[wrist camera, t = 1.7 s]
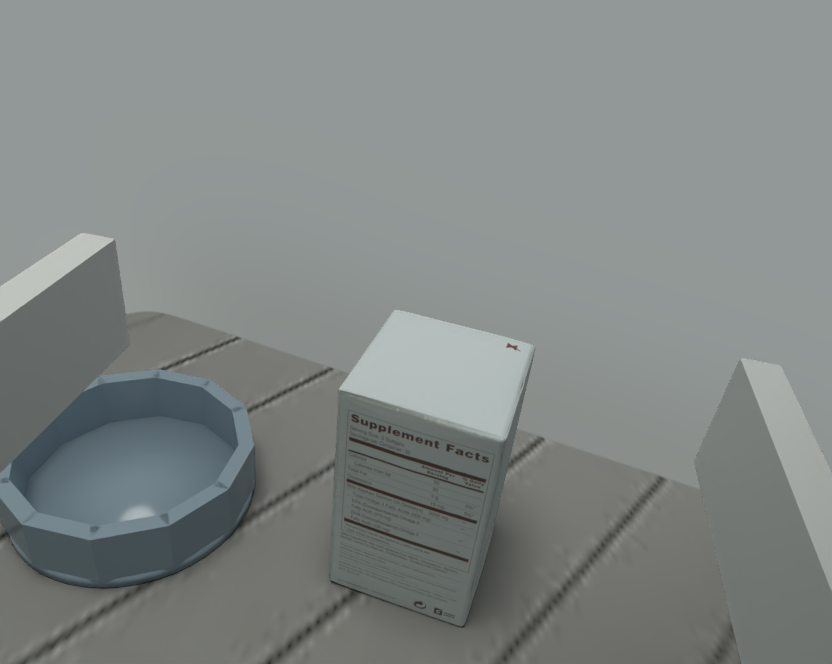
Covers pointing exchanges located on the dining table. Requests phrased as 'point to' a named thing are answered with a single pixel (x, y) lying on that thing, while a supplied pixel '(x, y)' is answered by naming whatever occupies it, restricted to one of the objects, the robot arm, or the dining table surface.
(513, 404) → the supplement box
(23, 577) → the dining table surface
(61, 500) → the bowl
